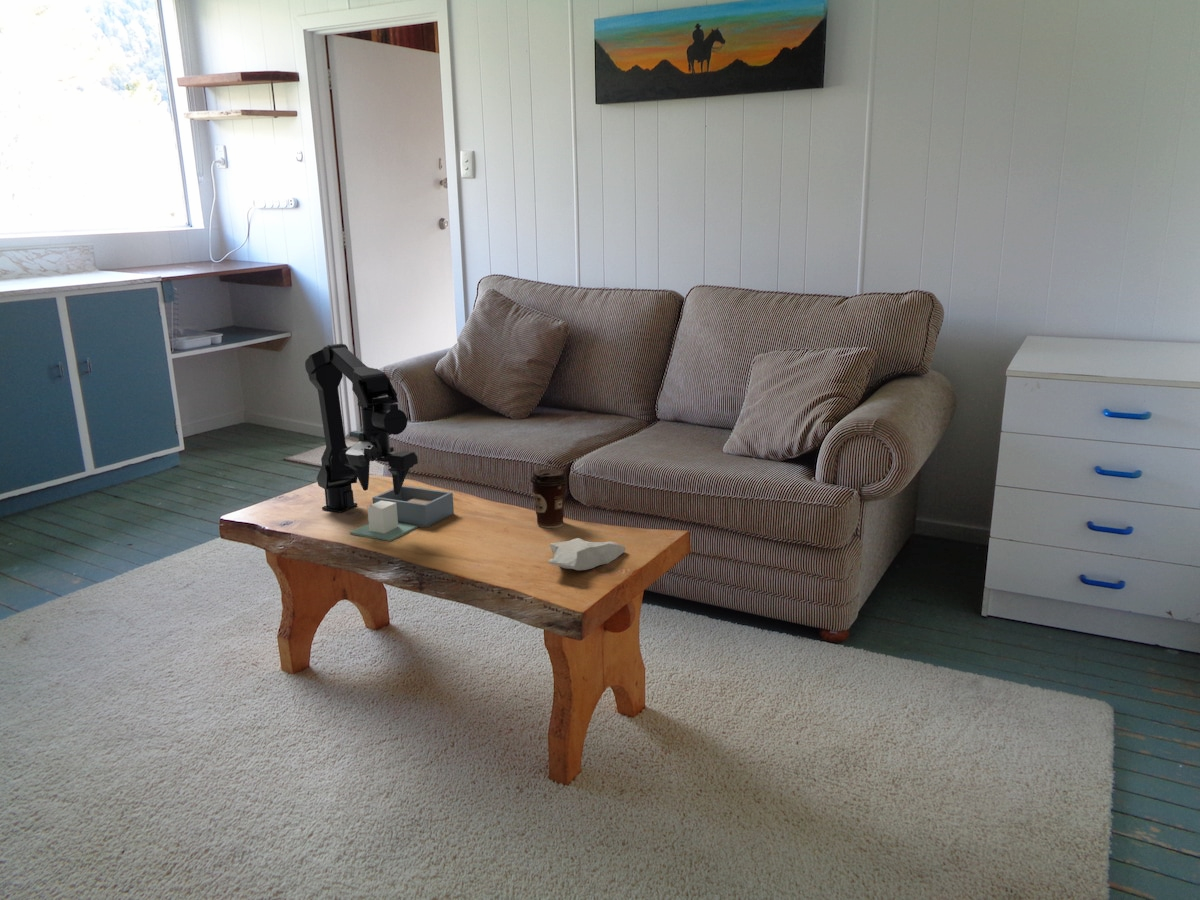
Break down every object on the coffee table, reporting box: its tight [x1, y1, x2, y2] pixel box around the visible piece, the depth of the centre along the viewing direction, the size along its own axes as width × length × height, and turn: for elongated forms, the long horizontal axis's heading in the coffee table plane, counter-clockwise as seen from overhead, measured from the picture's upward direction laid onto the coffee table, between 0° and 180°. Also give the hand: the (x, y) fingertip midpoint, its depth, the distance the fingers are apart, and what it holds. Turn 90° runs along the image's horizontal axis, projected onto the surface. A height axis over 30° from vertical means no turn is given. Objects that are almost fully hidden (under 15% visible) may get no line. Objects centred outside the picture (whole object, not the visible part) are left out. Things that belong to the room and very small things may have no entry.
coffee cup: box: [529, 468, 568, 529], centre depth 217 cm, size 9×8×13 cm
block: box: [367, 500, 398, 533], centre depth 216 cm, size 4×5×6 cm
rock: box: [548, 537, 627, 571], centre depth 195 cm, size 21×5×15 cm
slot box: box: [372, 485, 455, 528], centre depth 226 cm, size 16×11×6 cm
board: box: [349, 522, 419, 542], centre depth 217 cm, size 12×10×1 cm
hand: (381, 492), depth 214 cm, fingers open, 9 cm apart
